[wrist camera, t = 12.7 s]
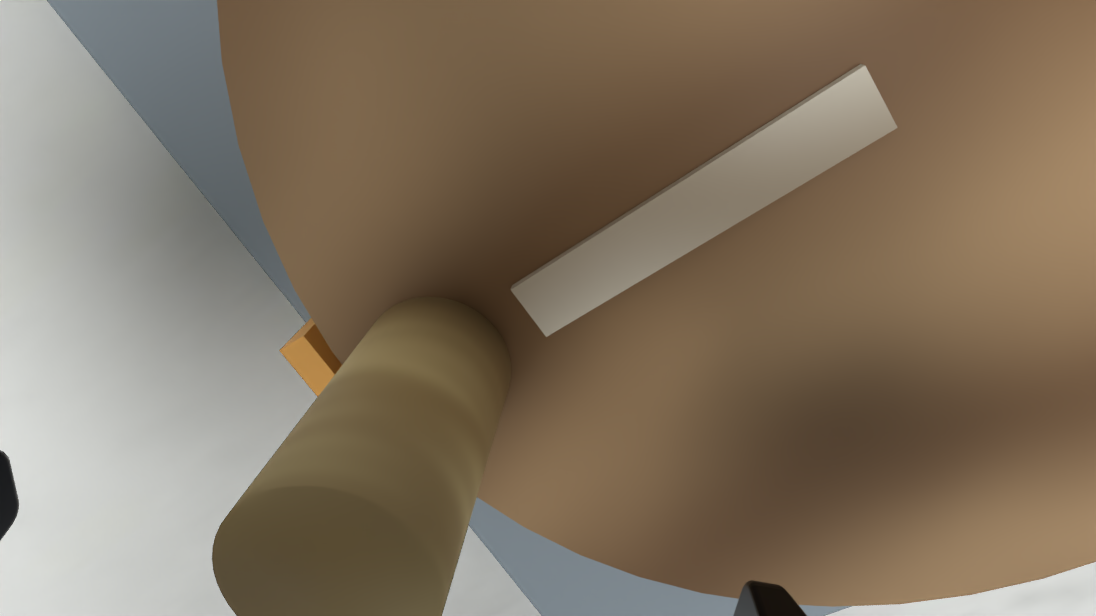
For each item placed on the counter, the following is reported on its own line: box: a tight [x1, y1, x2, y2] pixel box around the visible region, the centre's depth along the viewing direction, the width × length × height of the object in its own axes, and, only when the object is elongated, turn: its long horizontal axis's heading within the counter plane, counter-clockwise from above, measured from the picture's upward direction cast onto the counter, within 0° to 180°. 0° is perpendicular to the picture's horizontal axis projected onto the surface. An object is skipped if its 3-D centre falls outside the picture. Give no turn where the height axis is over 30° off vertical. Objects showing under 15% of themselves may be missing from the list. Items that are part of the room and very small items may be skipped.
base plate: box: [47, 0, 851, 616], centre depth 11 cm, size 22×22×3 cm
